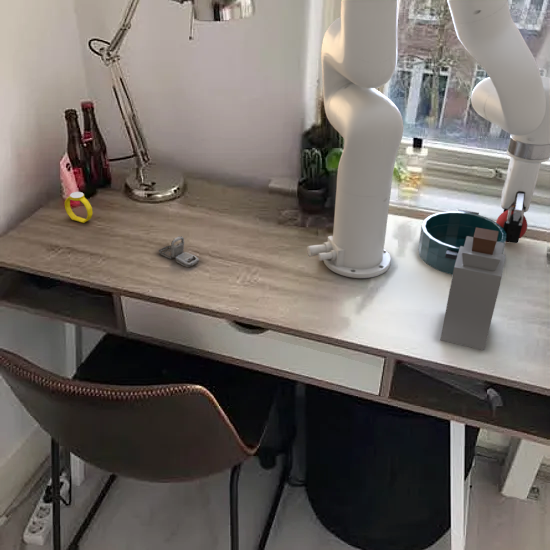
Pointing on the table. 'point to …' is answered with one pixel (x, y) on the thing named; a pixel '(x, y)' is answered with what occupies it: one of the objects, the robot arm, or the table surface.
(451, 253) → the pot handles
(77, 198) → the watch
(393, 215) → the table surface
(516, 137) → the robot arm
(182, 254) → the strap clip
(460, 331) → the perfume bottle
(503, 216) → the onion
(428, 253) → the pot
